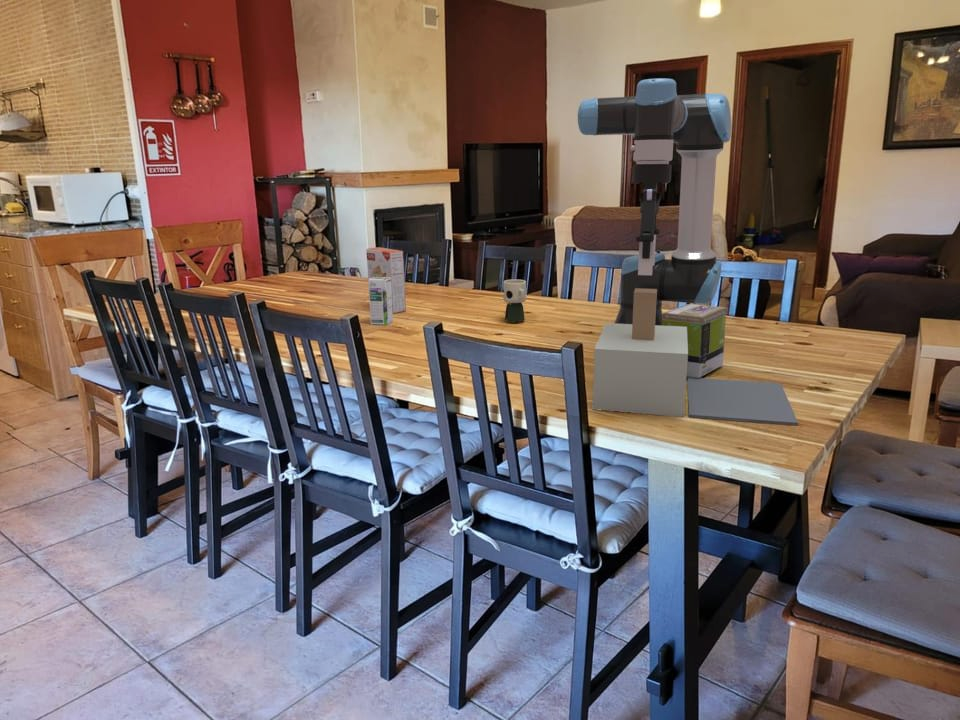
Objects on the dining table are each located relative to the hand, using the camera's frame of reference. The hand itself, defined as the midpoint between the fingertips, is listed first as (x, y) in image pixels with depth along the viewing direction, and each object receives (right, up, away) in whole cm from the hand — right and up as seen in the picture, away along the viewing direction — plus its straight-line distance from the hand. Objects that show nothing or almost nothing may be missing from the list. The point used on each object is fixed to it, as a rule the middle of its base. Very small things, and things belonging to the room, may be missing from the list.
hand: (646, 270), depth 144 cm
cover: (+1, -26, +8) cm, 27 cm away
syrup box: (-66, -7, +78) cm, 102 cm away
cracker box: (-66, -1, +98) cm, 118 cm away
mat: (+20, -27, +4) cm, 34 cm away
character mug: (-23, -7, +77) cm, 81 cm away
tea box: (+17, -21, +24) cm, 36 cm away
